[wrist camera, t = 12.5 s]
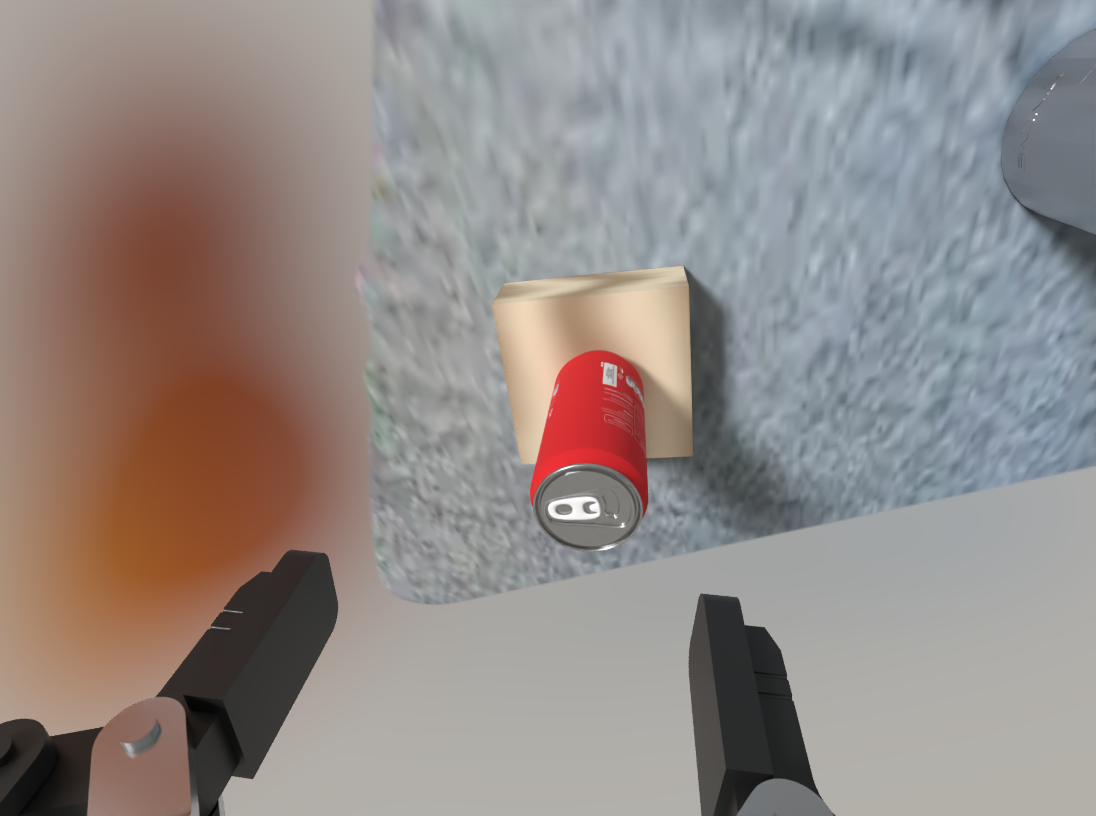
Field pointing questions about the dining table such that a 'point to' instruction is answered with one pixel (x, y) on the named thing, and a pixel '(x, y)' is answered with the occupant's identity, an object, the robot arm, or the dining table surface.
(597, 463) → the beverage can
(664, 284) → the beech block
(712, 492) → the dining table surface
